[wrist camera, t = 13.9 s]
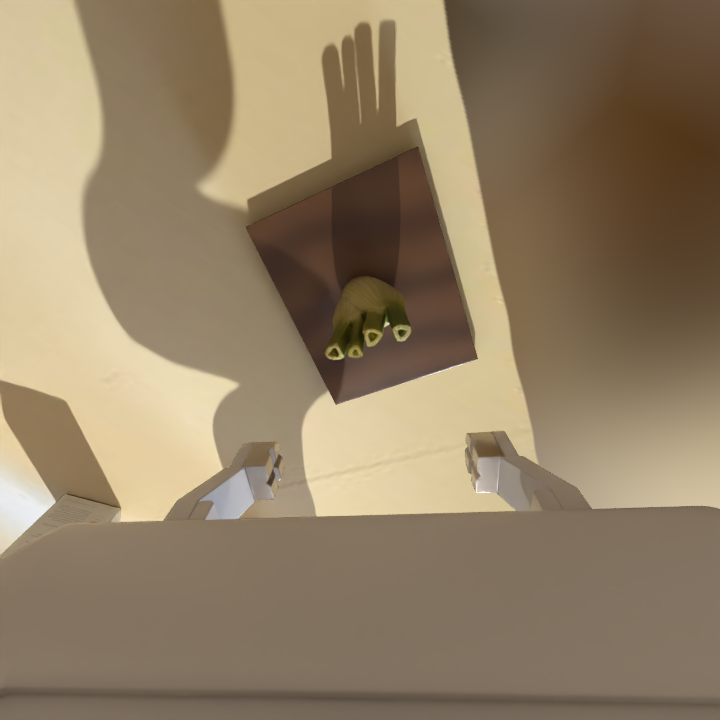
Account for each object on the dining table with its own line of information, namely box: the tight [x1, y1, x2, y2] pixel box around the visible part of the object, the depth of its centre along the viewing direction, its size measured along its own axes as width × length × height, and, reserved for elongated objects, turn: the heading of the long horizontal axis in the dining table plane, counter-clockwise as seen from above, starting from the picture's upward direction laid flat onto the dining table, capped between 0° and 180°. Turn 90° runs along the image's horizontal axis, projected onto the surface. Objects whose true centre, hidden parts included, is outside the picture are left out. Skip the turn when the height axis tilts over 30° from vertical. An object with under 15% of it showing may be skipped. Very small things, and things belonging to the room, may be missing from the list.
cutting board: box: [246, 147, 478, 405], centre depth 32 cm, size 20×16×2 cm
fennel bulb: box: [324, 276, 412, 360], centre depth 26 cm, size 6×5×12 cm
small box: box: [0, 494, 121, 559], centre depth 43 cm, size 8×6×13 cm
